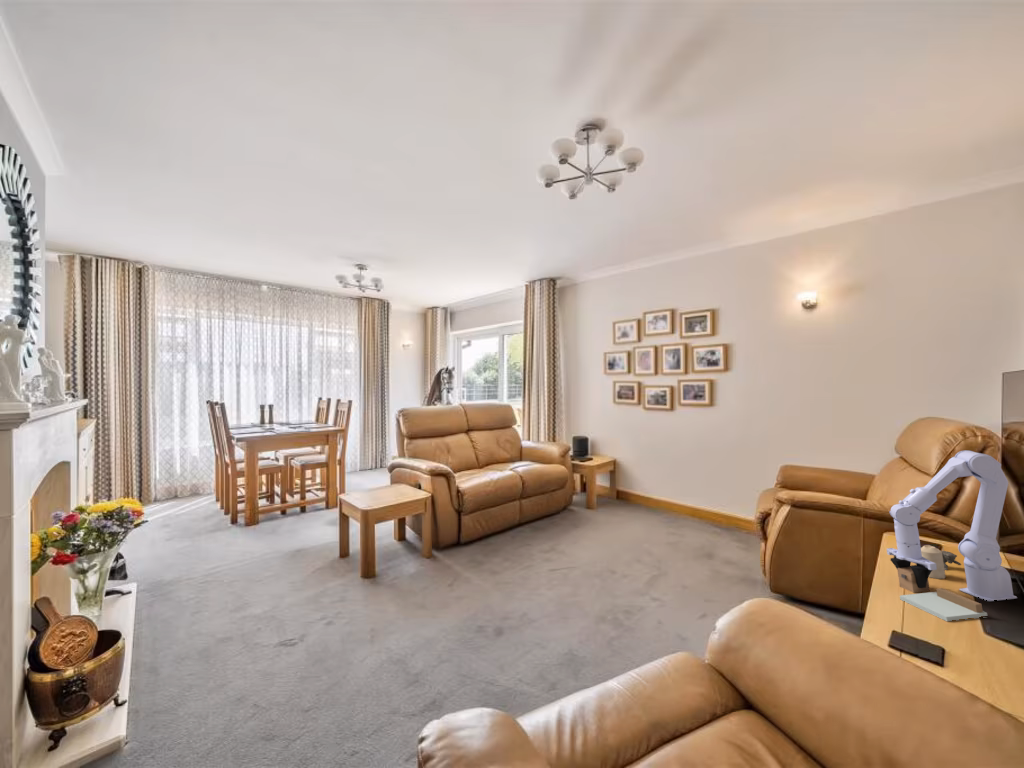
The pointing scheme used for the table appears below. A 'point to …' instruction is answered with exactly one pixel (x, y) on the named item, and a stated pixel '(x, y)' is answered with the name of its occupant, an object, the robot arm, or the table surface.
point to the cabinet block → (909, 580)
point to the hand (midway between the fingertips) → (913, 584)
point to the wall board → (945, 605)
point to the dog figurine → (948, 558)
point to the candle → (934, 560)
